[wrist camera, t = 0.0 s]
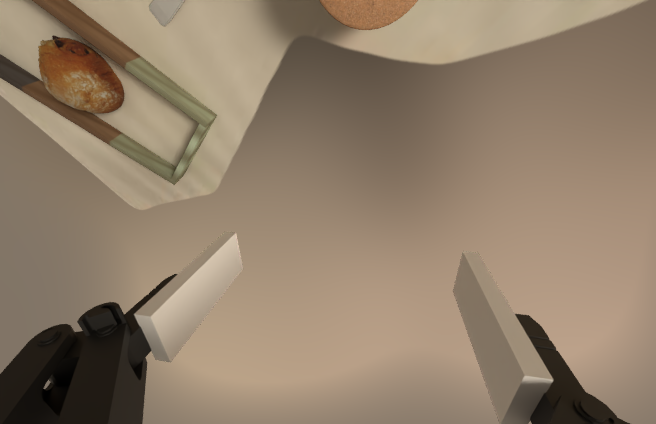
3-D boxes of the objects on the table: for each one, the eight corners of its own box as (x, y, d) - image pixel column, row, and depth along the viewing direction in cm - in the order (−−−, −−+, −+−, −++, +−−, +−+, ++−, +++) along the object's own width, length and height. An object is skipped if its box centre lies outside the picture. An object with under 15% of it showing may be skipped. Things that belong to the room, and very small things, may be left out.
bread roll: (95, 85, 45) (73, 122, 43) (27, 26, 36) (-6, 69, 33) (145, 90, 44) (126, 128, 42) (90, 30, 35) (60, 74, 32)
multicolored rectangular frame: (-110, -137, 27) (-152, -145, 25) (216, 115, 41) (207, 123, 39) (-62, 19, 38) (-88, 23, 36) (183, 175, 52) (174, 184, 50)
